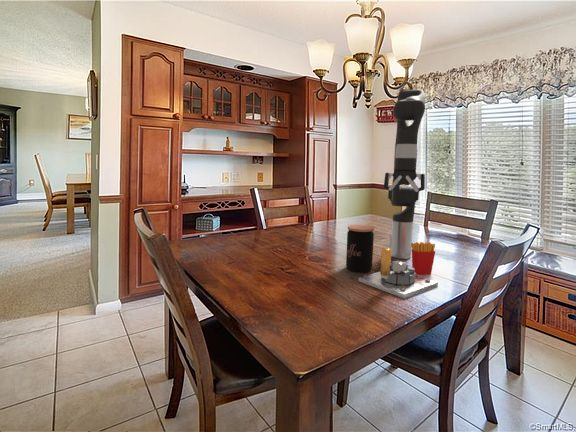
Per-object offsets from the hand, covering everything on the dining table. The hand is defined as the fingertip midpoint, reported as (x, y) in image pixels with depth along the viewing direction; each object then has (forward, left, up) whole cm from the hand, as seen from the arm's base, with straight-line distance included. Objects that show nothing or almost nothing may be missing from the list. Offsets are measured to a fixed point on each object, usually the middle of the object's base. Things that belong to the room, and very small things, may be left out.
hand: (403, 201), depth 128 cm
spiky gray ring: (+4, -8, -28) cm, 30 cm away
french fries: (+1, +13, -30) cm, 33 cm away
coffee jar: (-17, -4, -30) cm, 35 cm away
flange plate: (+3, -5, -30) cm, 31 cm away
